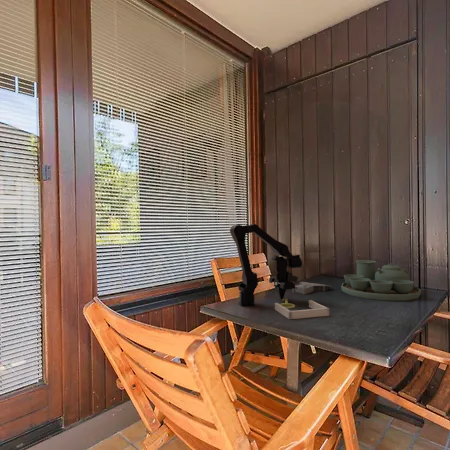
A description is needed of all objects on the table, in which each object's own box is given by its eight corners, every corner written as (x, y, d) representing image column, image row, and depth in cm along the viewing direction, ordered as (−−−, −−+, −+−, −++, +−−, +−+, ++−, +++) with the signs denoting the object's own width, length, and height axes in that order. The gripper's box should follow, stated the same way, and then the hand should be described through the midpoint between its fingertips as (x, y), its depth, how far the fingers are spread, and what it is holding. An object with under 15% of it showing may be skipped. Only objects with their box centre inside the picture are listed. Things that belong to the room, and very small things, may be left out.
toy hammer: (288, 277, 205) (331, 283, 184) (288, 283, 205) (331, 289, 184) (267, 282, 188) (311, 289, 167) (267, 289, 188) (311, 296, 167)
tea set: (327, 292, 176) (327, 263, 176) (364, 283, 201) (363, 258, 201) (401, 306, 145) (400, 271, 145) (433, 294, 169) (433, 264, 169)
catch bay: (289, 319, 126) (289, 311, 126) (274, 309, 141) (274, 303, 141) (329, 315, 130) (329, 308, 130) (311, 306, 145) (311, 300, 145)
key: (286, 302, 155) (286, 297, 155) (296, 308, 143) (296, 304, 143) (273, 302, 154) (273, 298, 154) (281, 309, 142) (281, 304, 142)
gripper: (305, 270, 148) (305, 303, 149) (287, 265, 166) (288, 294, 167) (283, 272, 146) (284, 304, 146) (268, 266, 164) (268, 295, 164)
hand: (281, 299), depth 156 cm, fingers closed
